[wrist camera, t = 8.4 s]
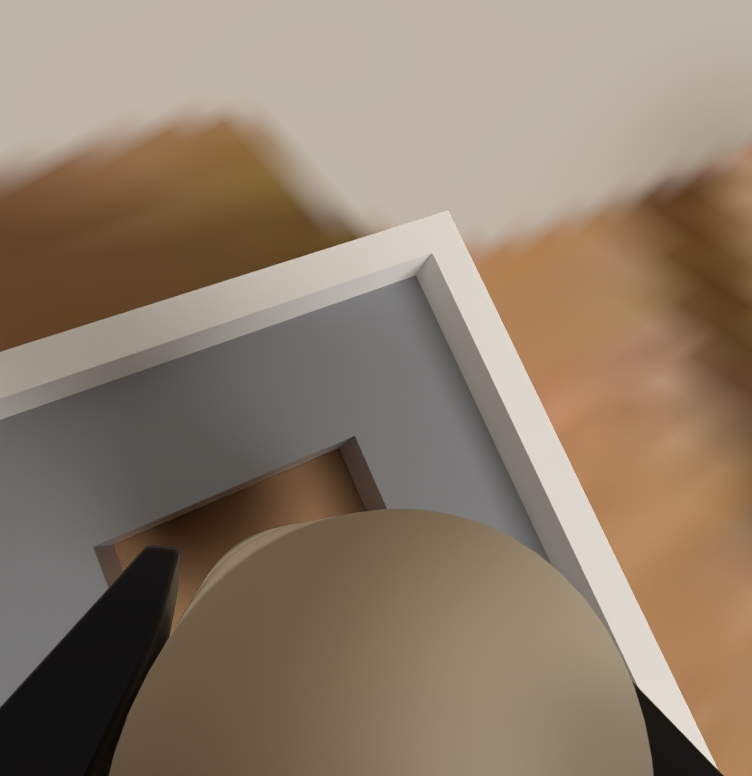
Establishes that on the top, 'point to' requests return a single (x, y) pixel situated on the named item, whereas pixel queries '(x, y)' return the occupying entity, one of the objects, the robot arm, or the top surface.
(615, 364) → the top surface
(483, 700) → the peg
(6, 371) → the bore box
